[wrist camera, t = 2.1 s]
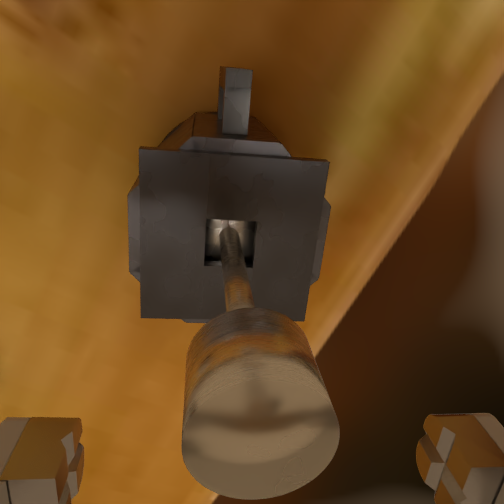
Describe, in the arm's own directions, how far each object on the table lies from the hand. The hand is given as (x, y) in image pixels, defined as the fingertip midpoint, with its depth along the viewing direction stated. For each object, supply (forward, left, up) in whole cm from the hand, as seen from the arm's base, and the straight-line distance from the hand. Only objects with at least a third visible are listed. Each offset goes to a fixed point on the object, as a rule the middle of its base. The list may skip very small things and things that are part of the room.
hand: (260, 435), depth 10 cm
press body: (-2, 0, -23) cm, 23 cm away
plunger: (0, 0, -13) cm, 13 cm away
